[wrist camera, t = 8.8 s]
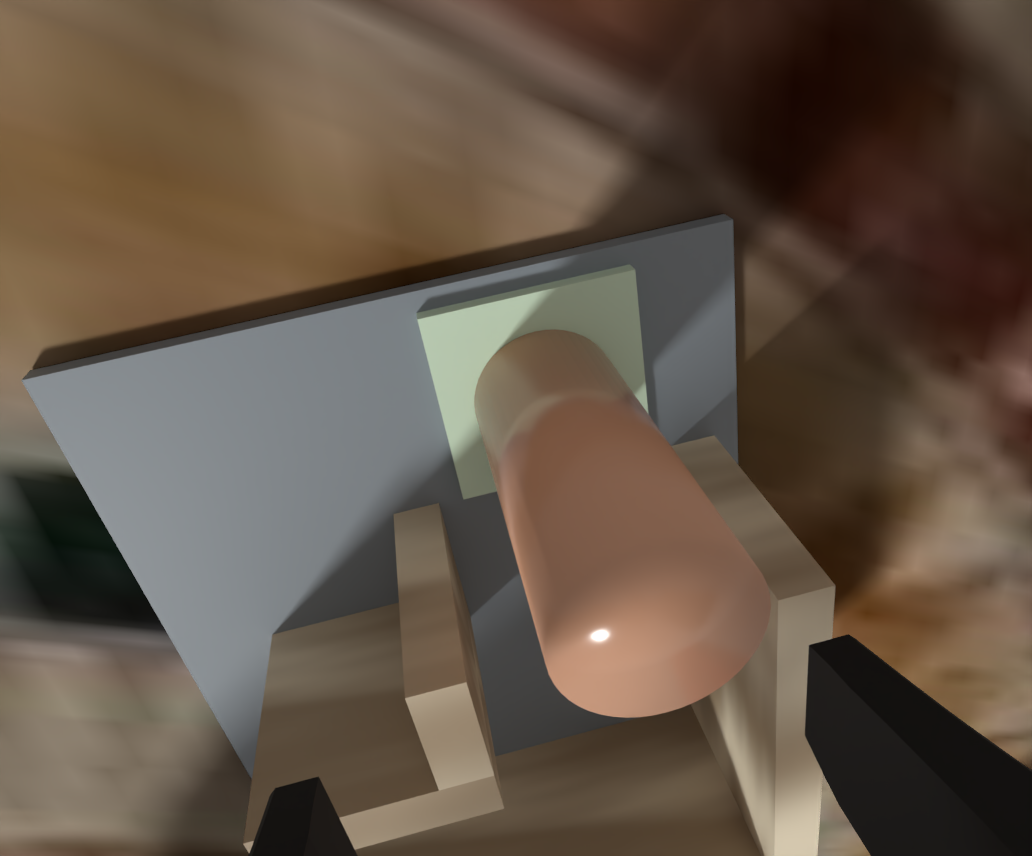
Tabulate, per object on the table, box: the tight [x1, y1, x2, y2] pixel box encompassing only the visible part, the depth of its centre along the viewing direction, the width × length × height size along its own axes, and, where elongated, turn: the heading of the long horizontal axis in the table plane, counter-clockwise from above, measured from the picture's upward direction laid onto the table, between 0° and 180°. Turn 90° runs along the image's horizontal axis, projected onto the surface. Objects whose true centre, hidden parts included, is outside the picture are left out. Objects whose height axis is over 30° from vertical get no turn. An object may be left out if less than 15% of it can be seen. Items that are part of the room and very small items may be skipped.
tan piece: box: [243, 436, 836, 856], centre depth 20 cm, size 12×13×6 cm
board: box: [22, 214, 738, 779], centre depth 21 cm, size 18×16×1 cm
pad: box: [416, 264, 648, 500], centre depth 18 cm, size 5×5×1 cm
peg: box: [474, 329, 771, 718], centre depth 15 cm, size 4×4×8 cm
